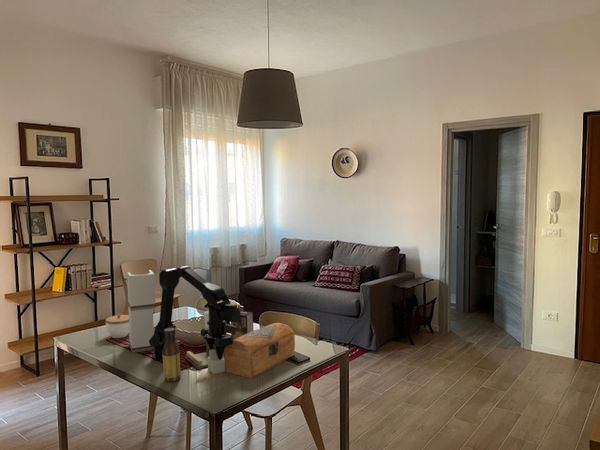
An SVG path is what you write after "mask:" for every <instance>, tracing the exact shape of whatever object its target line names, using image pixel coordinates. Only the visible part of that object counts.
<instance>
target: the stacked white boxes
mask: <svg viewBox="0 0 600 450" xmlns="http://www.w3.org/2000/svg"><path fill="white" fill-rule="evenodd" d="M126 272H127V273H126V277H127V279H126V280H127V299H128V300H127V303H128V304H127V305H128V306H127V307H128V308H127V309H128V315H129V333H128V335H129V337H128V338H129V347H130V350H131V353H132V354H133V353H141V352H147V351H153V350H152V349H153V346H151V345H150V343H149V340H150V339H151V337H152V336H153V335H154V331H155V328H154V312H156V309H157V307H156V284H155V283H156V281H155V280H156V279H155V275H156V274H155V273H154V272H153V270H151V269H149V270H148V273H146V274H133V273H131V272H130V271H126ZM146 350H147V351H146Z"/></svg>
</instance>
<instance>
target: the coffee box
mask: <svg viewBox="0 0 600 450" xmlns="http://www.w3.org/2000/svg"><path fill="white" fill-rule="evenodd" d="M240 312H241V316H240V319H239V321H238V322H236V323H234V322H230V324H232V325H234V326H236V327H237V330H236V333H235V335H233V334H230V337H231V338H232V339H233V340H234V339H236V338H238V337H240V336H243V335H245V334H247V333H249V332H252V331H254V330H255V329H254V312H252V311H251V312H250V311H243V310H241V311H240Z"/></svg>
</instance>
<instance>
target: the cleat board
mask: <svg viewBox="0 0 600 450" xmlns="http://www.w3.org/2000/svg"><path fill="white" fill-rule="evenodd" d="M205 349H206V350H205V351H203V352H201V353H196V354H194V353H193V352H192V351H190V350H189V351H186V356H185V359H186V361H188V362H189V361H190V362H191V363H192V364H191V365H192V366H193V367H195V368H196V369H197V370H200V369H205V368H208V357H209V350H210V349H209V347H208V345H207V343H206V342H205ZM190 362H189V363H190Z"/></svg>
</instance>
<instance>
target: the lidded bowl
mask: <svg viewBox="0 0 600 450" xmlns="http://www.w3.org/2000/svg"><path fill="white" fill-rule="evenodd" d="M105 328H106V331H107V333H108V335H110V336H111V337H112V338H113V339H120V338H121V339H122V338H125V337H127V336H128V335H129V314H121V313H118V314H117V315H116V314H115V315H112V316H109V317H107V318H106V319H105Z"/></svg>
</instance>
